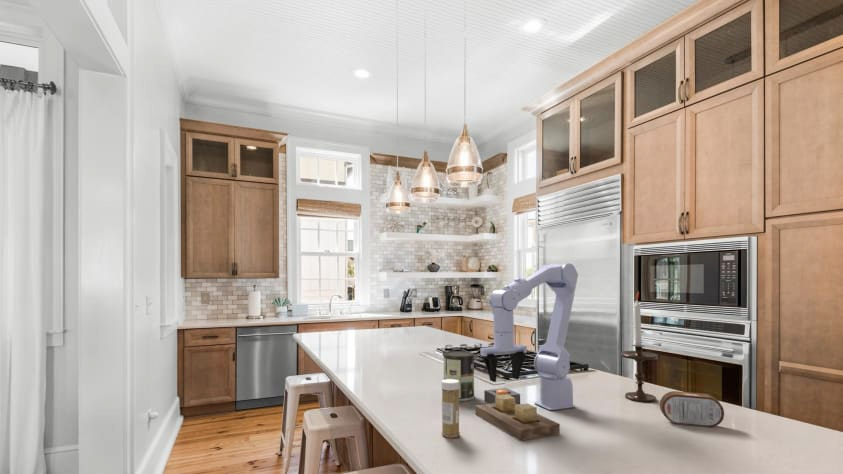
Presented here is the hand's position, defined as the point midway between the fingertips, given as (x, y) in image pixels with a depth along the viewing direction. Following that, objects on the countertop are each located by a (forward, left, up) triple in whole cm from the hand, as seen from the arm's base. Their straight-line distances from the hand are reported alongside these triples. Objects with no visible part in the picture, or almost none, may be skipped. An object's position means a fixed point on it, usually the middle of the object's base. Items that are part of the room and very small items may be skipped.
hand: (504, 379), depth 127 cm
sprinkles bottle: (+21, +7, -11) cm, 24 cm away
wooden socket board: (+1, +6, -10) cm, 12 cm away
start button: (-6, -11, -9) cm, 16 cm away
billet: (+1, +11, -10) cm, 15 cm away
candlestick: (-51, +1, -11) cm, 53 cm away
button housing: (-6, -11, -10) cm, 17 cm away
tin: (-43, +25, -11) cm, 51 cm away
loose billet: (+1, +1, -10) cm, 10 cm away
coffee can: (+3, -23, -11) cm, 26 cm away
